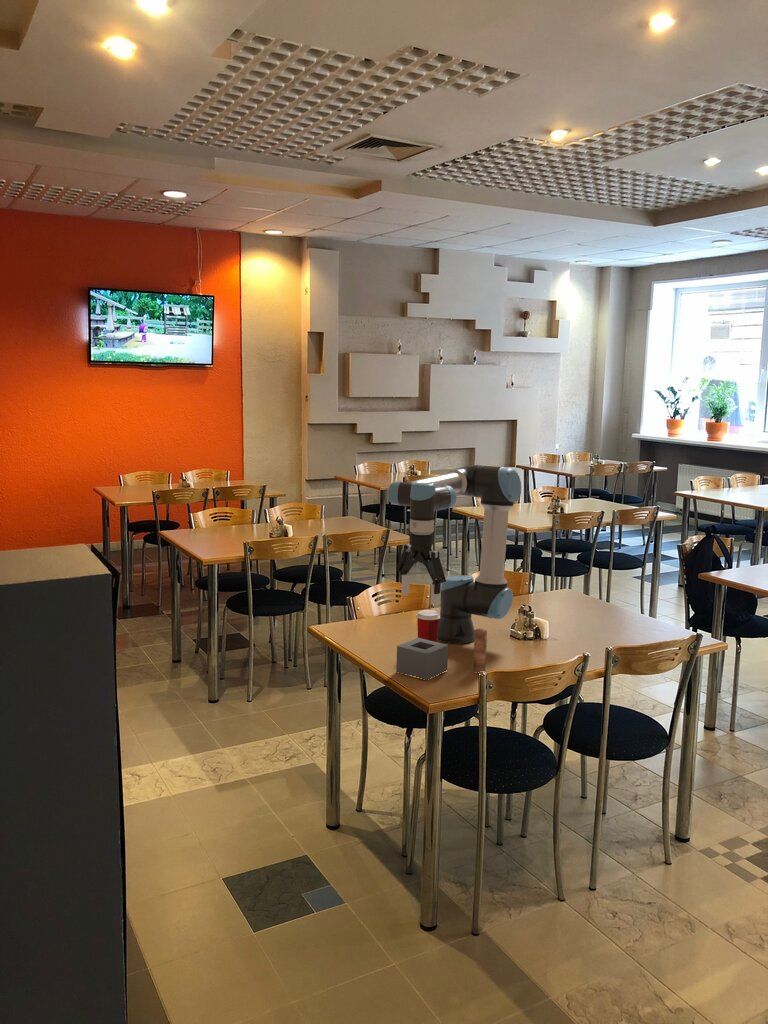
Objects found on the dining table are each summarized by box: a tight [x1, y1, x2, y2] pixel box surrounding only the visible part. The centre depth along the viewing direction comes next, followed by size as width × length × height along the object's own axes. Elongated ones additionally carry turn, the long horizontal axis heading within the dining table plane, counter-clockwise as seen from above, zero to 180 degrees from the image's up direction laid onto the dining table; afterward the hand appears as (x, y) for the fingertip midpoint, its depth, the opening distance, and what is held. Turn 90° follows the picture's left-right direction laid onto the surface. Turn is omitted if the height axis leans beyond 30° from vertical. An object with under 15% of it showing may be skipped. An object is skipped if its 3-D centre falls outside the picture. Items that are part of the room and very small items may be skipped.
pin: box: [472, 628, 488, 674], centre depth 281 cm, size 4×4×14 cm
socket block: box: [395, 637, 449, 681], centre depth 279 cm, size 12×12×9 cm
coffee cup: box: [415, 609, 440, 642], centre depth 297 cm, size 8×8×15 cm
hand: (419, 599), depth 269 cm, fingers open, 13 cm apart
